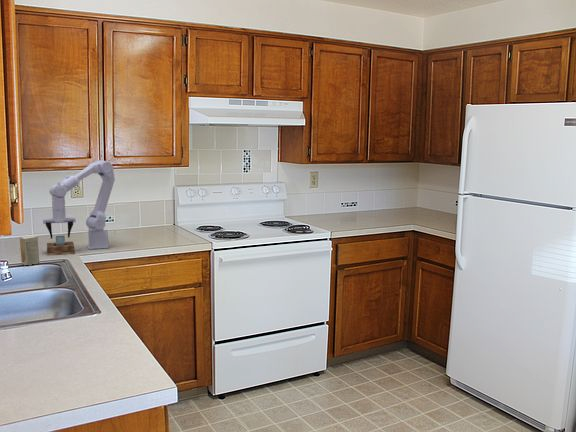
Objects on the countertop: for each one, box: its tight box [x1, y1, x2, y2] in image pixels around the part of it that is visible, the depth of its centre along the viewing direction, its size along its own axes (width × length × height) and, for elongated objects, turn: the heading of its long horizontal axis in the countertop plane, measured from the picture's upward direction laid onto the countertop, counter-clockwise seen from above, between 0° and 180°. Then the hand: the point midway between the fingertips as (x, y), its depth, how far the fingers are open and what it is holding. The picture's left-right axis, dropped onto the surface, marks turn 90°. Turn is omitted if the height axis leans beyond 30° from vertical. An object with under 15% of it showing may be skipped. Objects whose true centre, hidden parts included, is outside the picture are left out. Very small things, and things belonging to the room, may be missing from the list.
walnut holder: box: [46, 241, 76, 256], centre depth 276 cm, size 12×12×4 cm
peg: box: [55, 235, 66, 246], centre depth 276 cm, size 4×4×7 cm
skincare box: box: [19, 235, 40, 266], centre depth 250 cm, size 6×4×12 cm
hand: (60, 237), depth 275 cm, fingers open, 7 cm apart
